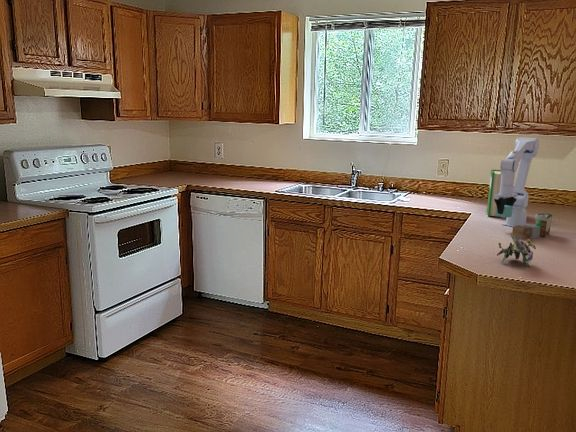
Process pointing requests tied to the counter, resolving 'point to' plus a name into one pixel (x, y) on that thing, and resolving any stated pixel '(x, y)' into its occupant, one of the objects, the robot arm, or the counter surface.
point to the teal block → (505, 212)
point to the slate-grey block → (534, 231)
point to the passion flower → (519, 250)
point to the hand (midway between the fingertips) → (503, 213)
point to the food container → (543, 223)
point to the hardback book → (493, 191)
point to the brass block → (521, 232)
